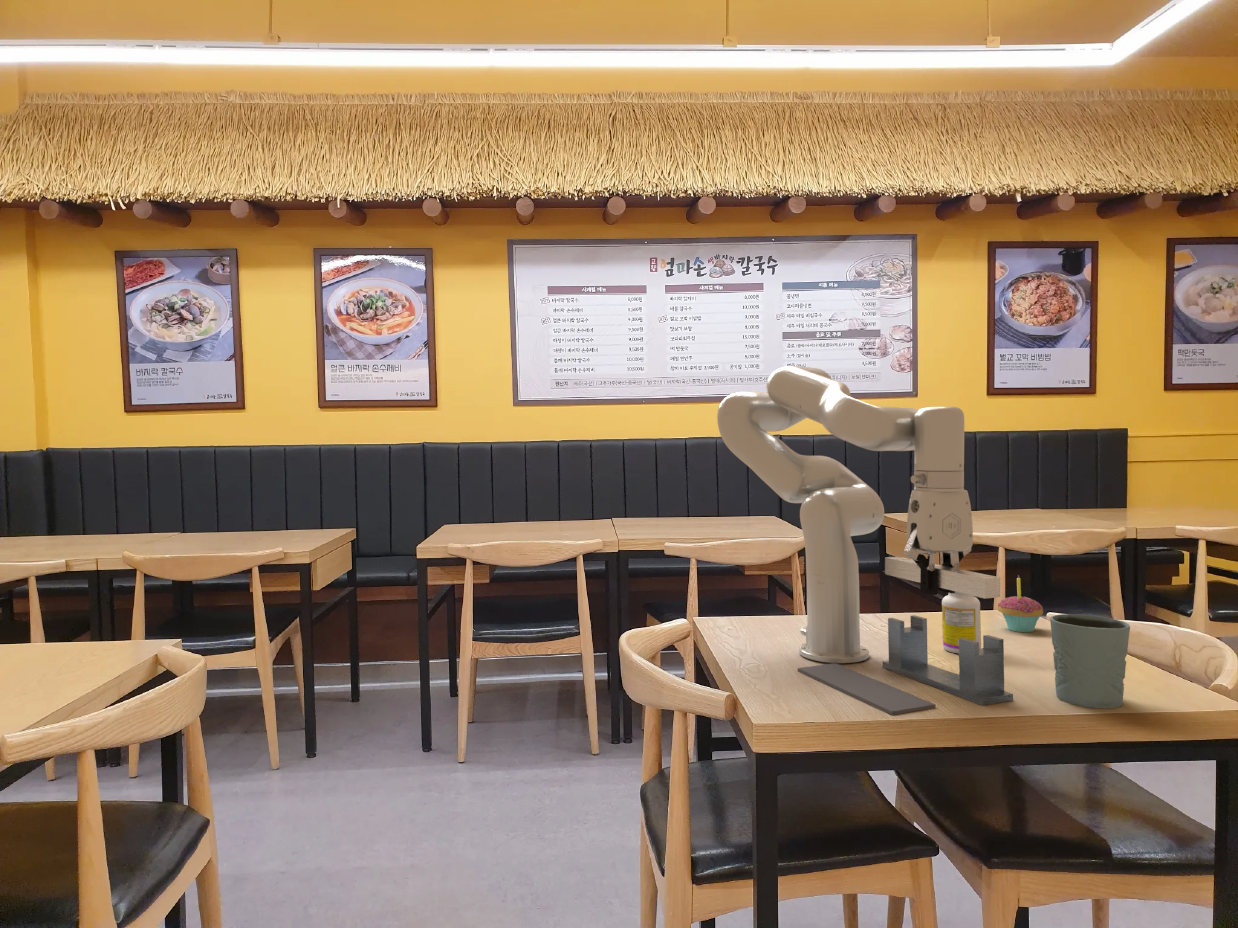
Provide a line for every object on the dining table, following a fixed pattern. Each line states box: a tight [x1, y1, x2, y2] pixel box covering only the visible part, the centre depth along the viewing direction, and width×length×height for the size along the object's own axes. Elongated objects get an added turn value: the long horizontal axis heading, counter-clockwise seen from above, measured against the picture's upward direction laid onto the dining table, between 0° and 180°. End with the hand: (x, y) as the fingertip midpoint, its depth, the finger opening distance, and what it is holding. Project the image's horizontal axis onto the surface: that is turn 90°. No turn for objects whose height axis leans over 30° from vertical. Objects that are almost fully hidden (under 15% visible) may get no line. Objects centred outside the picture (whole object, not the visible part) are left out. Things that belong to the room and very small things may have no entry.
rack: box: [882, 614, 1014, 706], centre depth 120 cm, size 22×6×9 cm, turn 20°
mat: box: [796, 663, 937, 716], centre depth 118 cm, size 24×8×1 cm, turn 20°
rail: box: [884, 556, 1001, 600], centre depth 120 cm, size 22×3×3 cm, turn 20°
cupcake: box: [997, 574, 1044, 633], centre depth 155 cm, size 9×8×12 cm
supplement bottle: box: [941, 591, 982, 655], centre depth 139 cm, size 7×7×13 cm
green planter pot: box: [1049, 613, 1131, 709], centre depth 111 cm, size 10×10×12 cm
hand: (937, 591), depth 120 cm, fingers closed on rail, 3 cm apart
